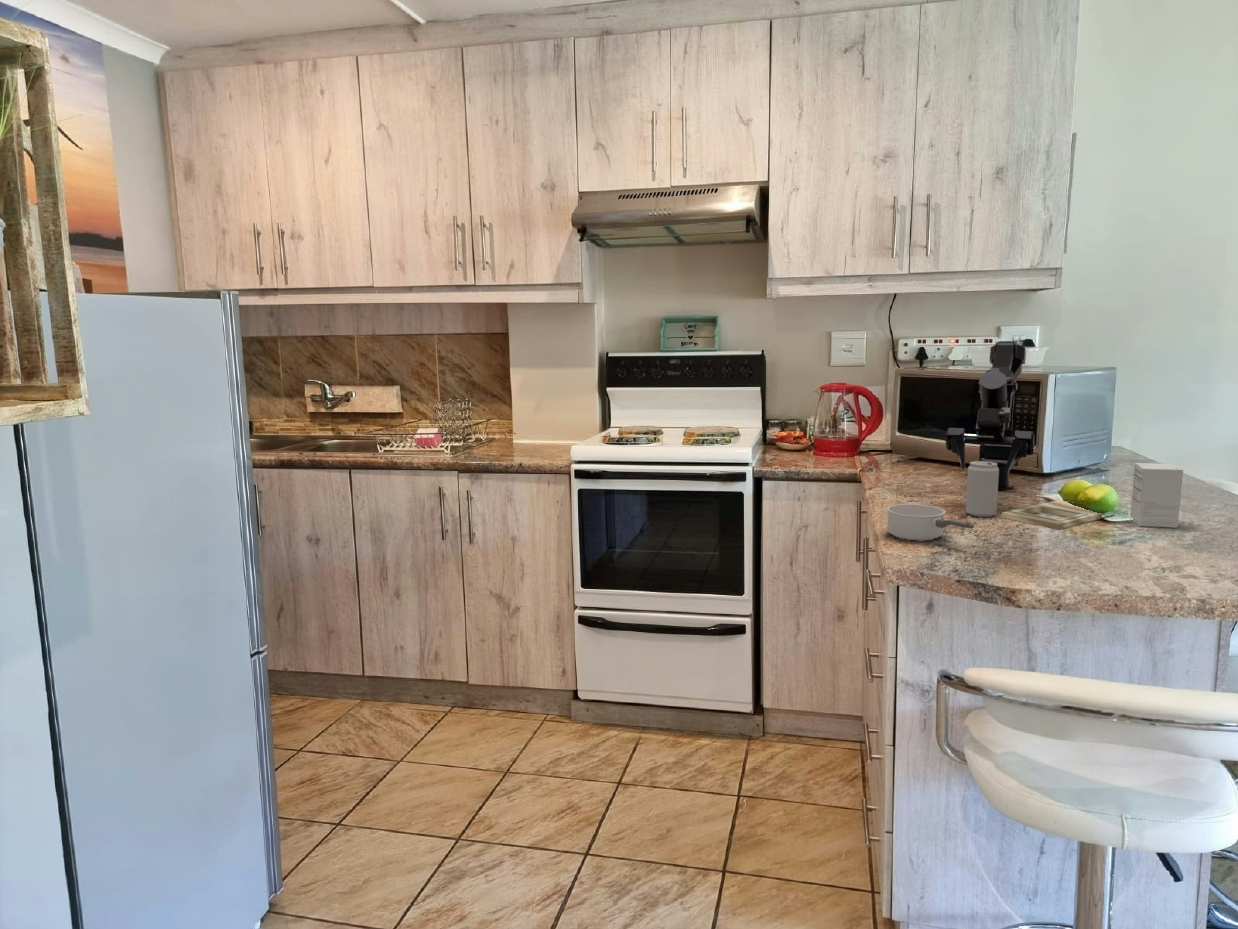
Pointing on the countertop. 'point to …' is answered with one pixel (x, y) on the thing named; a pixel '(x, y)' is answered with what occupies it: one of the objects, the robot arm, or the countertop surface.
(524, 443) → the countertop surface
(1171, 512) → the supplement box
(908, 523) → the saucepan
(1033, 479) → the countertop surface
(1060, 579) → the countertop surface
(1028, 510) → the board
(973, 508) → the beverage can
